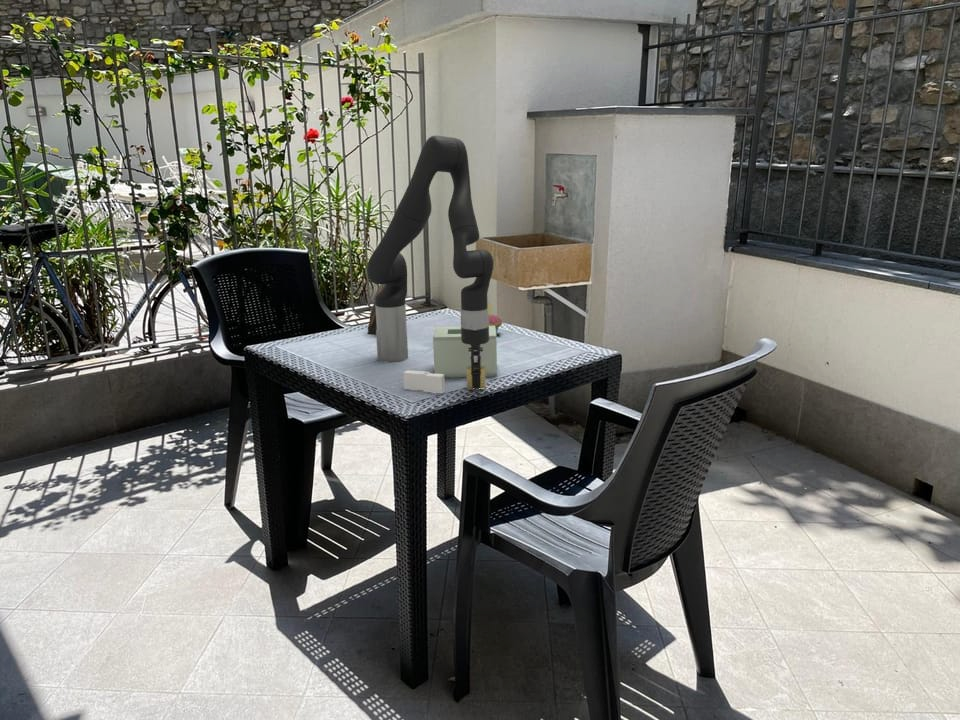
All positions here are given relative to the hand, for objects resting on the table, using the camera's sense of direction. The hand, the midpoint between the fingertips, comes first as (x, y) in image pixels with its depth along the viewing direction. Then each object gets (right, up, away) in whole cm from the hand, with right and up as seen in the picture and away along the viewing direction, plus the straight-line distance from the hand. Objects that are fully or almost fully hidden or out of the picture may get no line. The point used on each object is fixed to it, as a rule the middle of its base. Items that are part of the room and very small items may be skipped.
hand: (476, 384), depth 204 cm
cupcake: (+4, +15, +55) cm, 57 cm away
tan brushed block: (0, -1, 0) cm, 1 cm away
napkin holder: (-14, -2, -1) cm, 14 cm away
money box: (-3, +4, +16) cm, 16 cm away
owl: (-33, +16, +62) cm, 72 cm away
